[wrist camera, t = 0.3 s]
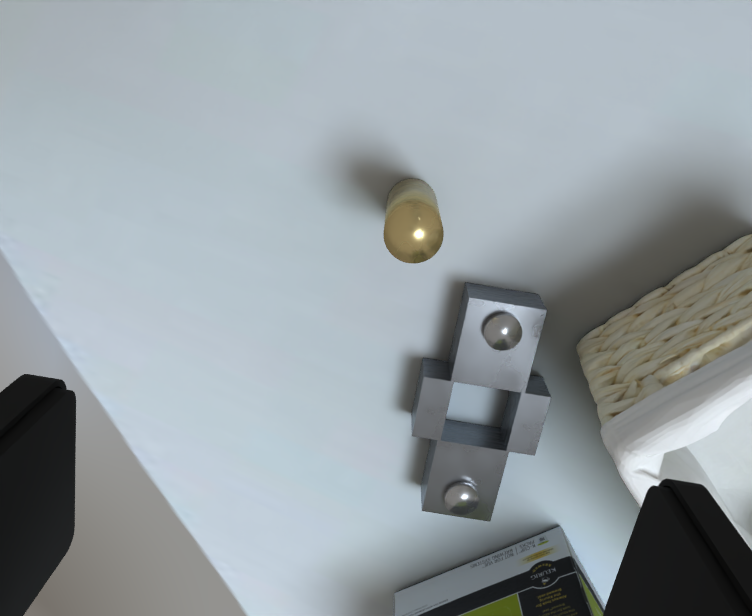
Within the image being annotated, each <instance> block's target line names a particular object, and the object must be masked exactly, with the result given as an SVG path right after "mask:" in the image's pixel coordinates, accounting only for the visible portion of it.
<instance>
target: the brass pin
mask: <svg viewBox="0 0 752 616" xmlns="http://www.w3.org/2000/svg"><path fill="white" fill-rule="evenodd" d="M384 241H385V244H386V247H387V249H388V250H389V252H390V253H391V254H392V255H393V256H394V257H395V258H397V259H399V260H400V261H403V262H406V263H420V262H424V261H426V260H428V259H430V258H431V257H433V256H434V255H435V254H436V253H437V251H438V250H439V248H440V247H441V244H442V241H443V227H442V222H441V218H440V213H439V209H438V204H437V199H436V196H435V193H434V191H433V189H432V188H431V187H430V186H429V185H428V184H427V183H426V182H424V181H422V180H419V179H405V180H403V181H400V182H399V183H397V184H396V185H395V186H394V187H393V188H392V189H391V191H390V193H389V195H388V199H387V208H386V217H385V226H384Z"/></svg>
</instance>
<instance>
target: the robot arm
mask: <svg viewBox="0 0 752 616" xmlns="http://www.w3.org/2000/svg"><path fill="white" fill-rule="evenodd" d="M75 432H76V396H75V393H74V392H73V391H71V390H66V385H65V383H64V381H63V380H59V379H54V378H48V377H42V376H36V375H30V374H24V375H22V376H20V377H19V378H18V379H16V380H15V381H14V382H13V383H11V384H10V385H9V386H8V387H6V388H5V389H4V390H3V391H2V392H1V393H0V616H23V615H24V614H25V612H26V610H27V609H28V608H29V606H30V605H31V603H32V602H33V601H34V599H35V597H36V596H37V595H38V593H39V592H40V591H41V589H42V588H43V586H44V585H45V583H46V582H47V580H48V579H49V578H50V576H51V575H52V573H53V572H54V570H55V569H56V567H57V566H58V565H59V563H60V562H61V560H62V559H63V557H64V556H65V554H66V553H67V551H68V549H69V547H70V545H71V542H72V539H73V535H74V526H75V522H74V521H75V438H76V437H75V436H76V433H75ZM603 616H752V550H751V549H750V548H749V546H748V545H747V543H746V542H745V541H744V539H743V538H742V537H741V535H740V534H739V532H738V531H737V530H736V528H735V527H734V526H733V524H732V523H731V521H730V520H729V519H728V517H727V516H726V514H725V513H724V512H723V510H722V509H721V508H720V506H719V505H718V503H717V502H716V501H715V499H714V498H713V497H712V495H711V494H710V492H709V491H708V490H707V488H706V487H705V486H704V485H702V484H698V483H692V482H685V481H679V480H673V479H667V478H666V479H664V480H662V481H661V482H660V483H659V485H658V486H655V485H653V486H651V487H650V488H649V489H648V491H647V493H646V496H645V498H644V501H643V504H642V507H641V509H640V512H639V515H638V518H637V521H636V523H635V526H634V529H633V532H632V535H631V537H630V540H629V543H628V546H627V549H626V551H625V554H624V557H623V560H622V562H621V565H620V568H619V571H618V574H617V576H616V579H615V582H614V585H613V588H612V590H611V593H610V596H609V599H608V602H607V604H606V607H605V610H604V613H603Z"/></svg>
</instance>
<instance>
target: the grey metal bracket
mask: <svg viewBox="0 0 752 616" xmlns="http://www.w3.org/2000/svg"><path fill="white" fill-rule="evenodd" d="M546 313H547V309H546V307H545V306H544V304H543V302H542V300H541V298H540V296H539V295H538V294H533V293H527V292H521V291H515V290H509V289H503V288H497V287H490V286H484V285H478V284H472V283H466V282H465V287H464V291H463V296H462V300H461V305H460V310H459V314H458V319H457V323H456V328H455V332H454V337H453V341H452V346H451V351H450V355H449V360H448V362H446V361H440V360H434V359H428V358H423V360H422V365H421V370H420V375H419V379H418V384H417V389H416V394H415V399H414V404H413V409H412V414H411V416H412V436H415V437H421V438H427V439H431V442H430V446H429V451H428V456H427V460H426V465H425V469H424V474H423V478H422V483H421V501H422V511H426V512H432V513H439V514H445V515H451V516H458V517H464V518H471V519H477V520H483V521H490V520H491V516H492V513H493V509H494V505H495V502H496V498H497V494H498V490H499V487H500V483H501V479H502V476H503V472H504V468H505V465H506V461H507V457H508V453H509V452H515V453H522V454H528V455H534V456H535V453H536V449H537V446H538V442H539V439H540V435H541V432H542V428H543V425H544V421H545V418H546V414H547V411H548V407H549V404H550V400H551V396H550V393H549V391H548V388H547V386H546V384H545V381H544V379H543V377H539V376H533V375H530V372H531V368H532V365H533V361H534V357H535V353H536V350H537V346H538V342H539V339H540V335H541V331H542V328H543V324H544V320H545V316H546ZM454 382H458V383H465V384H471V385H477V386H483V387H489V388H496V389H502V390H508V391H510V393H509V397H508V401H507V405H506V409H505V412H504V416H503V420H502V424H501V428H496V427H489V426H483V425H477V424H471V423H464V422H458V421H452V420H446V419H445V418H446V414H447V410H448V405H449V401H450V396H451V392H452V387H453V383H454Z"/></svg>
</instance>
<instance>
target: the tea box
mask: <svg viewBox="0 0 752 616" xmlns="http://www.w3.org/2000/svg"><path fill="white" fill-rule="evenodd" d="M604 610H605V605H604V603H603V602H602V600H601V598H600V596H599V595H598V593H597V591H596V589H595V588H594V586H593V584H592V582H591V580H590V578H589V577H588V575H587V573H586V571H585V569H584V568H583V566H582V564H581V562H580V561H579V559H578V557H577V555H576V553H575V551H574V550H573V548H572V546H571V544H570V542H569V540H568V538H567V536H566V535H565V533H564V531H563V529H562V528H561V527H560V526H559V527H557V528H554V529H552V530H549V531H547V532H544V533H542V534H539V535H537V536H535V537H532V538H530V539H527V540H525V541H522V542H520V543H518V544H515V545H513V546H510V547H507V548H505V549H502V550H500V551H498V552H495V553H493V554H490V555H488V556H485V557H483V558H480V559H478V560H475V561H473V562H470V563H468V564H465V565H463V566H460V567H458V568H455V569H453V570H450V571H448V572H445V573H443V574H441V575H438V576H436V577H433V578H431V579H428V580H426V581H423V582H421V583H418V584H416V585H413V586H411V587H408V588H406V589H403V590H401V591H399V592H396V593H395V594H394V616H603V613H604Z"/></svg>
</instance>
